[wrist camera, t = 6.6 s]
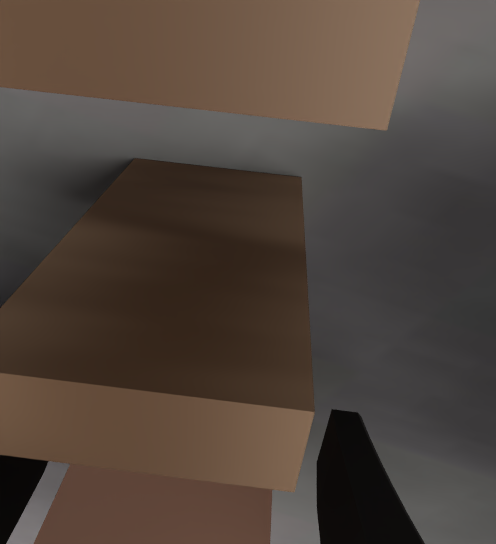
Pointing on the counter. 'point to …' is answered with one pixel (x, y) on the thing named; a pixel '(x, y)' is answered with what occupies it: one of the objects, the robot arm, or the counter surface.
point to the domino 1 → (215, 54)
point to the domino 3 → (153, 510)
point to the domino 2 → (168, 332)
